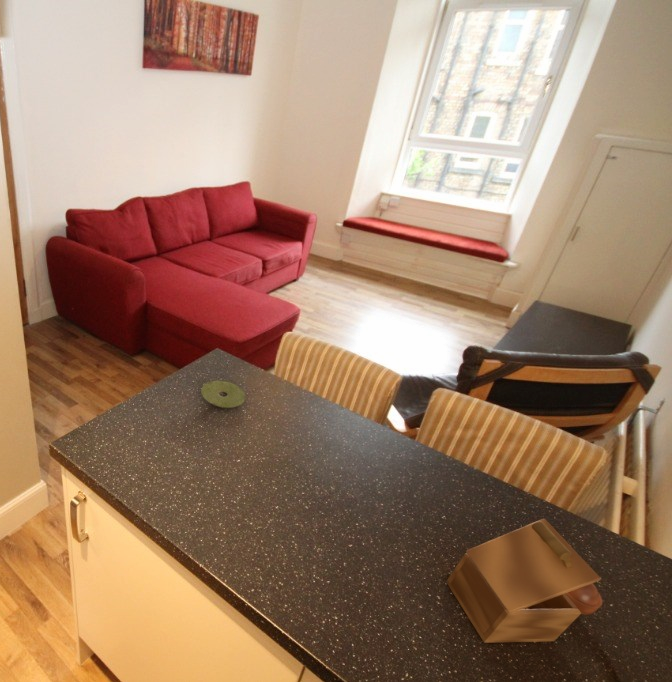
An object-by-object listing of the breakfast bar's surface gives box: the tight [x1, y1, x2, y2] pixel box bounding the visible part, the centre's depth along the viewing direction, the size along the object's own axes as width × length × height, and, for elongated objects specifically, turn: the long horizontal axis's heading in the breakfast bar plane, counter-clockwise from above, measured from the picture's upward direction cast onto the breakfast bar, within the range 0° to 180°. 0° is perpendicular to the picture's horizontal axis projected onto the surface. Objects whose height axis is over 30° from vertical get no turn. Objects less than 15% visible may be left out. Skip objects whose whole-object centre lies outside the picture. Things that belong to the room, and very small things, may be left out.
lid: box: [465, 518, 602, 613], centre depth 64 cm, size 12×9×5 cm
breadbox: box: [445, 553, 582, 644], centre depth 69 cm, size 11×9×8 cm
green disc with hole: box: [200, 380, 246, 409], centre depth 113 cm, size 11×11×2 cm
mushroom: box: [565, 583, 603, 616], centre depth 70 cm, size 6×6×7 cm
